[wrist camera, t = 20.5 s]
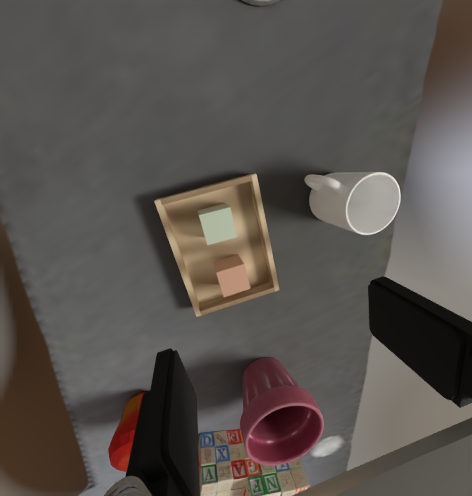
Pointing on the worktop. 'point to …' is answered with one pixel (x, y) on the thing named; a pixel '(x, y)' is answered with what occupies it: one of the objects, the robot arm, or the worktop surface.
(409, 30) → the worktop surface
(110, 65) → the worktop surface
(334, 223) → the cup
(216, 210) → the sage block
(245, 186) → the oak tray
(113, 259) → the worktop surface
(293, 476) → the stack of blocks
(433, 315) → the robot arm
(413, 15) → the worktop surface
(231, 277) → the terracotta block
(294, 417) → the plant pot
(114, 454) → the apple
